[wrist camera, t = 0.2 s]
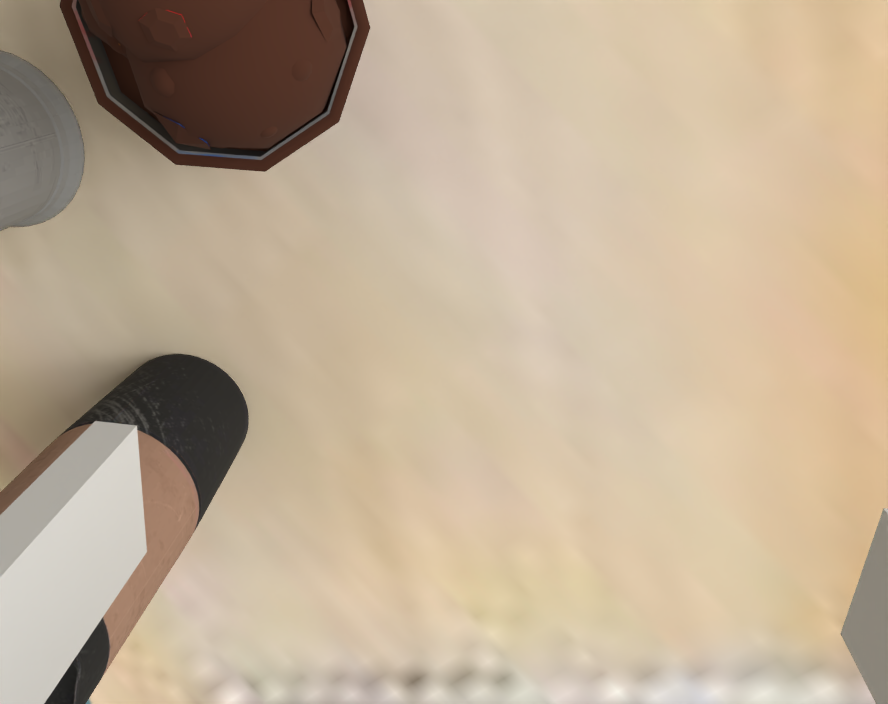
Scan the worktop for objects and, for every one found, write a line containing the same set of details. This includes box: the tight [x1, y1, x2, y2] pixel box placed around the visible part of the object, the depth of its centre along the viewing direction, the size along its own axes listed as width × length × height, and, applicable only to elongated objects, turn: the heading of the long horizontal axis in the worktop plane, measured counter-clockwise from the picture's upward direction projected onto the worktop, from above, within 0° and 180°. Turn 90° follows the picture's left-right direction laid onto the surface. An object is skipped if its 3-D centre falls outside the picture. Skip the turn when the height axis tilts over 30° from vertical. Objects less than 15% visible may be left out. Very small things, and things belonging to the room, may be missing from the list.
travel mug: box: [0, 354, 248, 704], centre depth 37 cm, size 8×8×20 cm
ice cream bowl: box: [60, 0, 370, 172], centre depth 31 cm, size 11×11×15 cm
